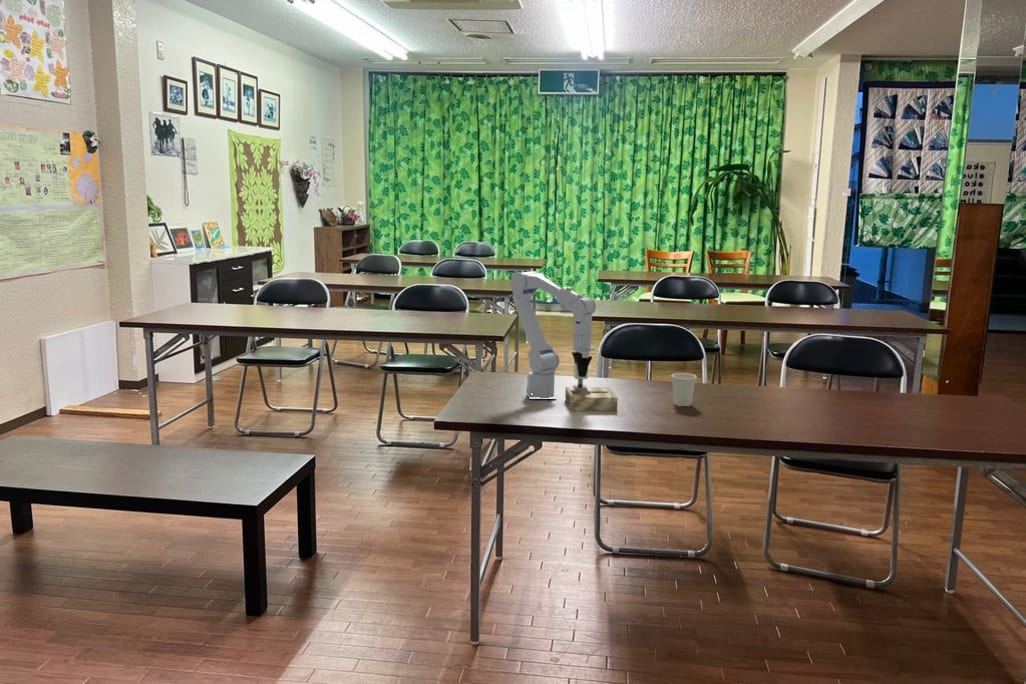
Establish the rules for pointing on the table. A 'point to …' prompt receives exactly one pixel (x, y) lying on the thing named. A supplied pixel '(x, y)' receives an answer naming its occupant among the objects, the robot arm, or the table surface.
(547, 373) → the robot arm
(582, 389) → the headed peg
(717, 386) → the table surface
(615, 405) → the keyhole plate
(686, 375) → the dixie cup
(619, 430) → the table surface
